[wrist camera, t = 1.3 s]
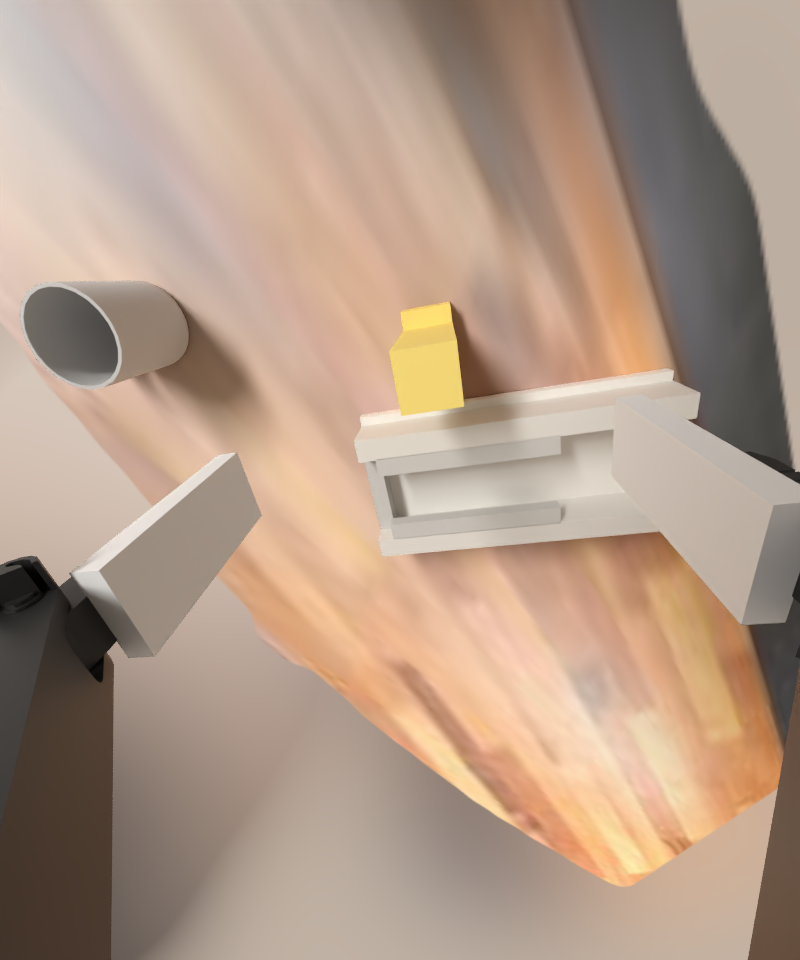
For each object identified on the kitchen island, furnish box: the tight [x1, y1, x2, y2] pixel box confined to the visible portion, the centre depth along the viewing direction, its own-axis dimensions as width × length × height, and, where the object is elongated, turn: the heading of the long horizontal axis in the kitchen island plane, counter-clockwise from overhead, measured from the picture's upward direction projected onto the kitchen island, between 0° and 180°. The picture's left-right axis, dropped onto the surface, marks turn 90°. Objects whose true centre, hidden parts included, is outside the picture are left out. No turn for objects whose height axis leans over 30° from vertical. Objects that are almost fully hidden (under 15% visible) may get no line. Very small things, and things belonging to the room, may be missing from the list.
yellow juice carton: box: [389, 301, 464, 416], centre depth 29 cm, size 7×4×12 cm, turn 10°
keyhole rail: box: [354, 368, 701, 556], centre depth 36 cm, size 14×27×5 cm, turn 100°
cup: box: [20, 281, 189, 389], centre depth 32 cm, size 7×10×9 cm
